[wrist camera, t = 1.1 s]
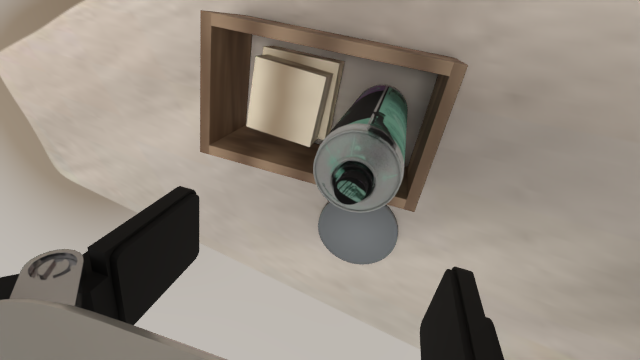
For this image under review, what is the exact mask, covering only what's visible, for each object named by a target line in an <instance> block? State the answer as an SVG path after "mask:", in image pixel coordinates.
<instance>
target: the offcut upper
mask: <svg viewBox="0 0 640 360" xmlns="http://www.w3.org/2000/svg"><path fill="white" fill-rule="evenodd" d="M333 74H334V73H330V72H327V71H323V70H320V69H317V68H313V67H310V66H306V65H303V64H300V63H296V62H293V61H290V60H286V59H283V58H279V57H276V56H273V55H269V54H267V55H260V56H256V57H255V64H254V72H253V79H252V87H251V95H250V102H249V110H248V117H247V125H246V126H247V127H250V128H253V129H256V130H259V131H262V132H265V133H268V134H271V135H274V136H277V137H280V138H283V139H286V140H289V141H292V142H295V143H298V144H301V145H304V146H307V147H310V146H311V145H312V144H313V143H314V142H315V141H316V140H317V139H318V134H319V130H320V126H321V122H322V118H323V114H324V110H325V106H326V102H327V98H328V94H329V90H330V86H331V82H332V78H333Z"/></svg>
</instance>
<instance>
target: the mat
mask: <svg viewBox="0 0 640 360" xmlns="http://www.w3.org/2000/svg"><path fill="white" fill-rule="evenodd" d="M318 230H319V235H320V238H321V240H322V242H323V244H324V245H325V246H326V248H327V249H328V250H329V251H330V252H331V253H332V254H334V255H335V256H336V257H338V258H340V259H342V260H344V261H347V262H350V263H354V264H371V263H375V262H378V261H380V260H382V259H384V258H385V257H386V256H388V255H389V254H390V253H391V252H392V250H393V249H394V247H395V245H396V241H397V235H398V226H397V221H396V219H395V216H394V214H393V213H392V211H391V210H390V209H389V207H388V206H387V205H385V206H383V207H381V208H379V209H377V210H374V211H370V212H363V213H357V212H350V211H346V210H343V209H341V208H339V207H336V206H335V205H333V204H332V203H330V202H329V203H328V204H327V205H326V206H325V208H324V209H323V211H322V213H321V215H320V218H319V223H318Z"/></svg>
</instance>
